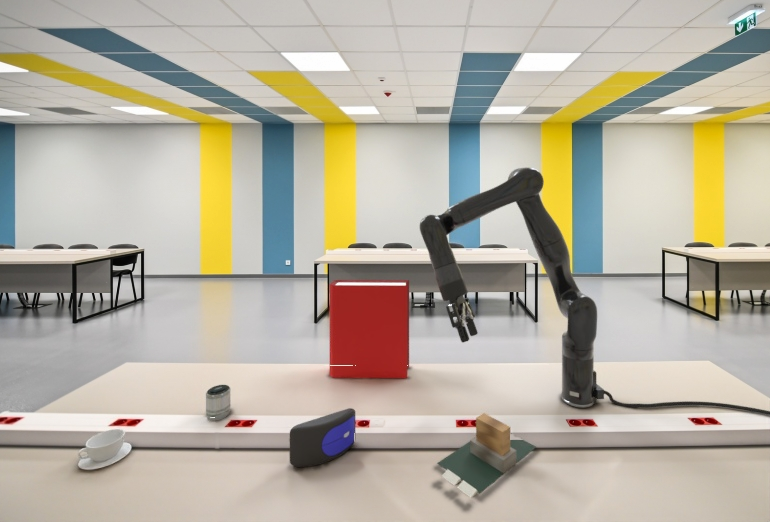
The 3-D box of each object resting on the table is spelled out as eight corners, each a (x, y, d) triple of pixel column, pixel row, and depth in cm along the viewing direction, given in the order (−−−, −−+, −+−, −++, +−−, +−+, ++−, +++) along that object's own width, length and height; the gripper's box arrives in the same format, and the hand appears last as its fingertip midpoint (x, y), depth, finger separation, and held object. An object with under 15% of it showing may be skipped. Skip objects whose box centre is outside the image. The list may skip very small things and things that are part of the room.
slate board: (494, 428, 109) (494, 424, 109) (536, 451, 100) (536, 446, 100) (436, 468, 94) (436, 463, 94) (479, 499, 84) (479, 493, 84)
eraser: (470, 452, 98) (470, 417, 97) (483, 443, 101) (483, 409, 101) (503, 473, 90) (503, 436, 90) (516, 462, 94) (516, 426, 94)
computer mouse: (293, 476, 91) (293, 435, 91) (288, 465, 95) (288, 425, 95) (360, 450, 100) (360, 413, 100) (353, 441, 104) (353, 404, 104)
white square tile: (448, 471, 91) (447, 468, 91) (461, 480, 88) (460, 478, 88) (436, 484, 88) (435, 482, 88) (449, 494, 86) (448, 492, 85)
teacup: (128, 439, 105) (128, 421, 105) (134, 457, 97) (134, 438, 97) (76, 457, 98) (76, 437, 98) (79, 478, 90) (79, 457, 90)
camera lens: (202, 415, 115) (202, 388, 115) (225, 406, 120) (225, 380, 120) (210, 424, 111) (210, 396, 111) (234, 414, 116) (234, 387, 116)
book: (409, 367, 146) (409, 280, 146) (407, 378, 138) (407, 285, 138) (334, 367, 146) (334, 279, 146) (328, 377, 138) (328, 285, 138)
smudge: (463, 482, 88) (463, 479, 88) (477, 492, 85) (477, 489, 85) (451, 496, 85) (451, 494, 85) (465, 507, 82) (465, 505, 82)
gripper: (454, 279, 107) (475, 339, 103) (469, 275, 120) (488, 329, 116) (430, 288, 109) (450, 348, 105) (447, 283, 123) (465, 336, 118)
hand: (470, 338), depth 111 cm, fingers open, 8 cm apart
